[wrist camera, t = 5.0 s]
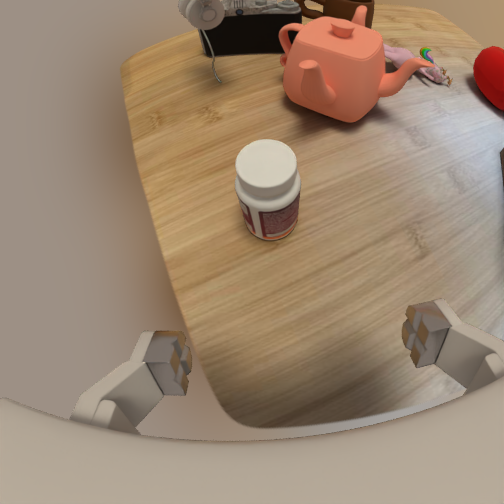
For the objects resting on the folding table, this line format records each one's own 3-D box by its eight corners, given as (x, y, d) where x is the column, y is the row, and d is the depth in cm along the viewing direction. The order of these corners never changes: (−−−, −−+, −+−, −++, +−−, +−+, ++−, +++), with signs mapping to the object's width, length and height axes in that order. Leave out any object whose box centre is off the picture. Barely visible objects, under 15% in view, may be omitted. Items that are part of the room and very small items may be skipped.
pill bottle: (304, 203, 26) (312, 145, 18) (286, 249, 25) (288, 202, 17) (257, 187, 27) (247, 127, 19) (236, 230, 26) (216, 179, 18)
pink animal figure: (435, 75, 33) (357, 47, 32) (450, 52, 27) (368, 18, 27) (448, 99, 31) (366, 68, 30) (466, 74, 26) (380, 36, 25)
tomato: (484, 114, 28) (513, 66, 18) (455, 69, 32) (473, 24, 22) (525, 128, 27) (552, 90, 17) (497, 84, 31) (517, 47, 21)
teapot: (355, 62, 33) (365, 1, 22) (408, 129, 28) (439, 60, 18) (259, 73, 33) (252, 4, 22) (297, 148, 28) (301, 61, 18)
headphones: (195, 71, 34) (159, -47, 15) (221, 62, 34) (194, -56, 16) (214, 100, 32) (174, -44, 13) (243, 90, 32) (218, -54, 13)
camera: (299, 35, 36) (299, -15, 26) (302, 55, 34) (302, -2, 24) (209, 39, 37) (198, -8, 28) (202, 59, 35) (188, 6, 26)
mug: (295, 48, 34) (294, -4, 26) (293, 28, 37) (292, -17, 28) (371, 56, 33) (381, 7, 24) (362, 35, 35) (368, -8, 27)
